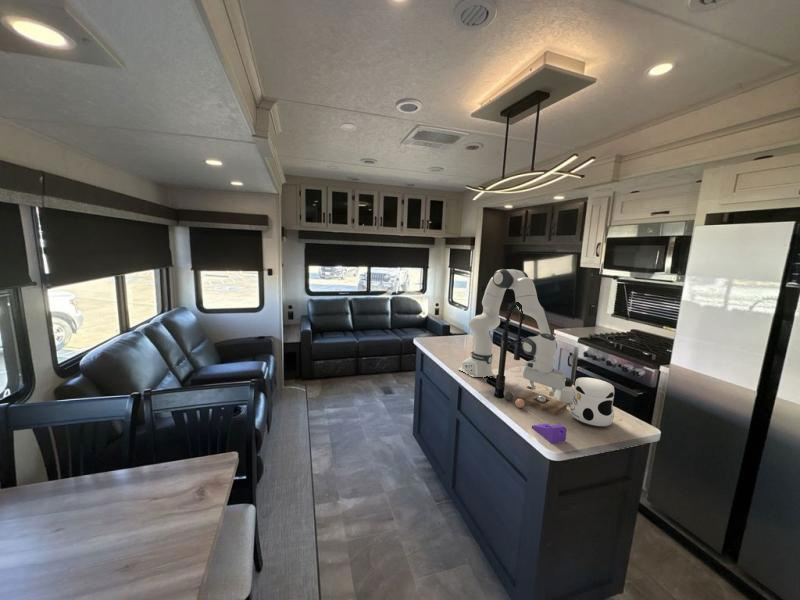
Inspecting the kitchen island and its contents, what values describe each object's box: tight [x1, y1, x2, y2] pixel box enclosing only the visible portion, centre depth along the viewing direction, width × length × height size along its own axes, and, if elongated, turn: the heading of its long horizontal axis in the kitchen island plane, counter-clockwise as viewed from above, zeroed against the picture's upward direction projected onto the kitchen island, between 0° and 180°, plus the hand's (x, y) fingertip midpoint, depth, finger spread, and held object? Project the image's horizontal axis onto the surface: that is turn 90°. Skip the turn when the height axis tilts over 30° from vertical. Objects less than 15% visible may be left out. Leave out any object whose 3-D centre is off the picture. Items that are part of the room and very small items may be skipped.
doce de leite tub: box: [569, 377, 615, 428], centre depth 147 cm, size 17×17×18 cm
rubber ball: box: [504, 391, 514, 401], centre depth 167 cm, size 4×4×4 cm
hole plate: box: [516, 389, 568, 416], centre depth 163 cm, size 20×12×2 cm, turn 40°
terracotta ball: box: [514, 398, 526, 409], centre depth 159 cm, size 4×4×4 cm
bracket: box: [531, 423, 567, 444], centre depth 135 cm, size 12×7×7 cm, turn 17°
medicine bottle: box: [554, 377, 574, 404], centre depth 168 cm, size 7×7×12 cm
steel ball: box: [536, 395, 546, 404], centre depth 163 cm, size 4×4×4 cm
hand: (542, 392), depth 162 cm, fingers open, 8 cm apart
